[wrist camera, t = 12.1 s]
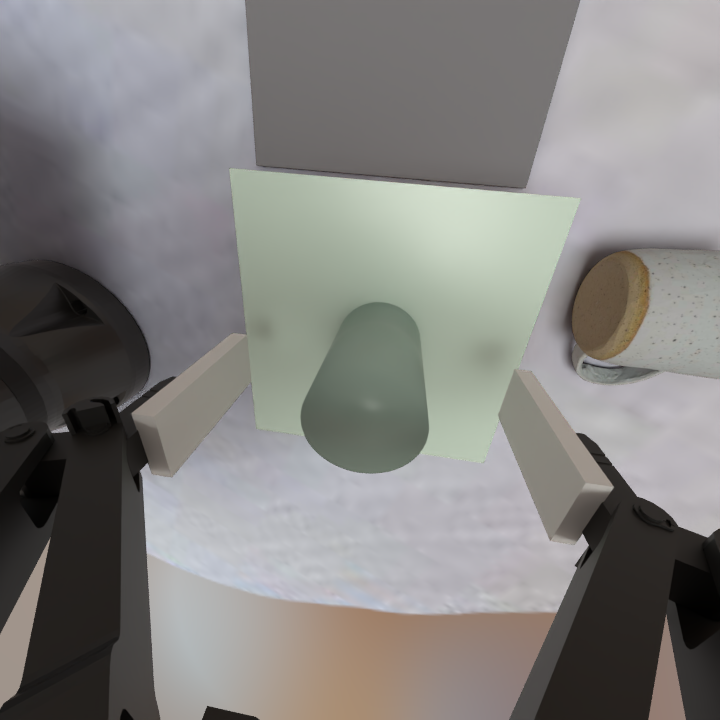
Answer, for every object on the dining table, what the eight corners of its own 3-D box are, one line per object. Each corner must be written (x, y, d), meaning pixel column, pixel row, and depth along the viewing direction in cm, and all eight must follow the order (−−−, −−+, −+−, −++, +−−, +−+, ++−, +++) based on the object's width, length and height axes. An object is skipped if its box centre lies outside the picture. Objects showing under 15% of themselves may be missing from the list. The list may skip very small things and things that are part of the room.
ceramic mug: (587, 238, 21) (668, 261, 15) (720, 242, 21) (870, 269, 14) (541, 371, 27) (586, 432, 20) (646, 378, 26) (730, 446, 19)
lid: (262, 418, 25) (193, 526, 17) (240, 169, 17) (87, 146, 9) (479, 451, 24) (518, 584, 15) (569, 198, 15) (747, 201, 7)
